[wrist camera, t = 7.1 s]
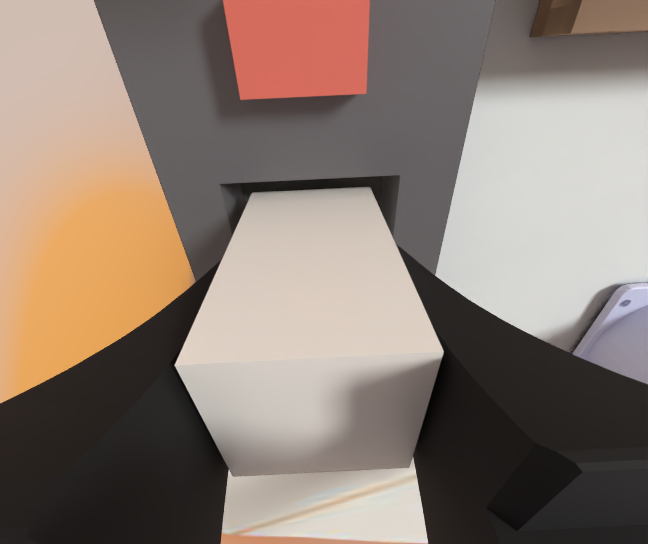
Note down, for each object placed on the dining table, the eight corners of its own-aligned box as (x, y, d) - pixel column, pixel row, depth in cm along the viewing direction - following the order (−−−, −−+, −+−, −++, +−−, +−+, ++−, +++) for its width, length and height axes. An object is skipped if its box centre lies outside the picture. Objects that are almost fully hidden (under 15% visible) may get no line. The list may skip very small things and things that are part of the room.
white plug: (365, 280, 12) (409, 467, 7) (269, 285, 12) (233, 476, 7) (370, 186, 10) (443, 351, 4) (252, 192, 10) (174, 365, 4)
